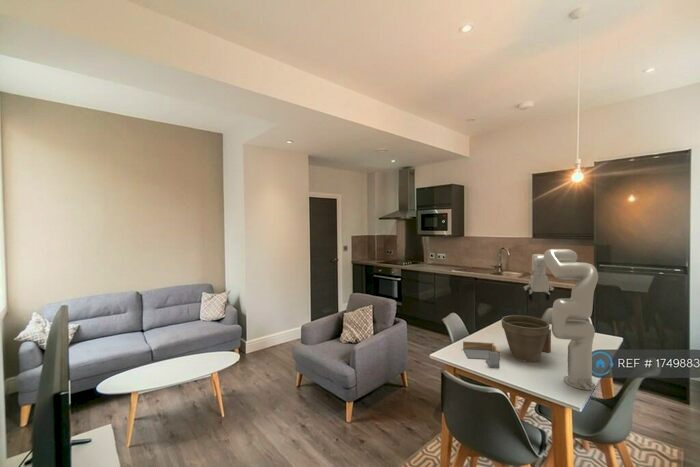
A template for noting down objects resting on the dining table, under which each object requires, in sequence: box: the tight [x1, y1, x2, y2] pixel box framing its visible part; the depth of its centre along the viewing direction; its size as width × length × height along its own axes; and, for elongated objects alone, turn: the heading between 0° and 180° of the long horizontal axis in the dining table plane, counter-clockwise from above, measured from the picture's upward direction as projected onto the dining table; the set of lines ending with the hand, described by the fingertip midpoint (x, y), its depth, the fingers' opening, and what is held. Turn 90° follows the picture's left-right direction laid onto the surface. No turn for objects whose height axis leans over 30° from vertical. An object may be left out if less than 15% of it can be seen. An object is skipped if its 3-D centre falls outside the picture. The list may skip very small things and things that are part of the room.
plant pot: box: [501, 314, 551, 363], centre depth 181 cm, size 25×25×22 cm
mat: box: [463, 349, 501, 361], centre depth 185 cm, size 14×18×1 cm
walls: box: [462, 340, 501, 360], centre depth 185 cm, size 14×18×5 cm
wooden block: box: [542, 328, 552, 353], centre depth 192 cm, size 4×11×18 cm, turn 36°
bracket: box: [485, 352, 500, 369], centre depth 172 cm, size 8×5×8 cm, turn 170°
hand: (538, 300), depth 193 cm, fingers open, 9 cm apart
